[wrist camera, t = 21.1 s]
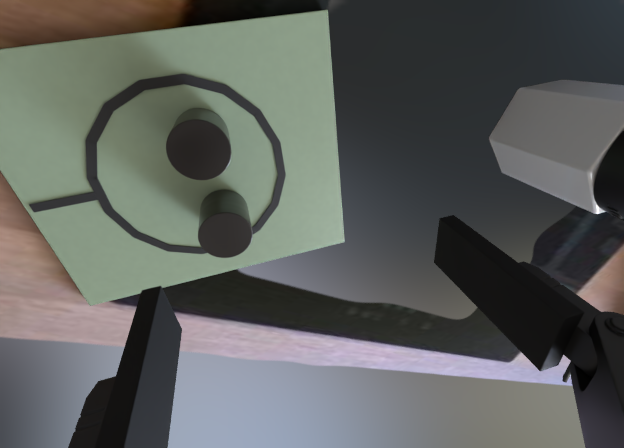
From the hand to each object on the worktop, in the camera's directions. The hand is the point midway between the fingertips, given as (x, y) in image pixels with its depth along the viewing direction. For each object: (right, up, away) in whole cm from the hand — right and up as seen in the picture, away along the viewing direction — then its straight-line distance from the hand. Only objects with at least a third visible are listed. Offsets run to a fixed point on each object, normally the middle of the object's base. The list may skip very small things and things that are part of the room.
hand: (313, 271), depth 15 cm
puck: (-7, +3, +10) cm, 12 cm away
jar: (+20, +11, +15) cm, 27 cm away
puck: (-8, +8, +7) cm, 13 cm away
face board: (-9, +6, +9) cm, 14 cm away
